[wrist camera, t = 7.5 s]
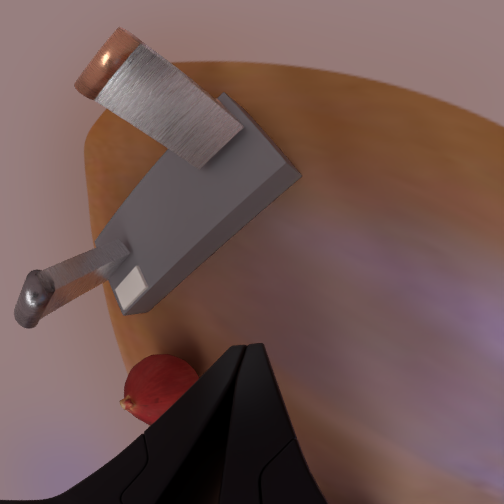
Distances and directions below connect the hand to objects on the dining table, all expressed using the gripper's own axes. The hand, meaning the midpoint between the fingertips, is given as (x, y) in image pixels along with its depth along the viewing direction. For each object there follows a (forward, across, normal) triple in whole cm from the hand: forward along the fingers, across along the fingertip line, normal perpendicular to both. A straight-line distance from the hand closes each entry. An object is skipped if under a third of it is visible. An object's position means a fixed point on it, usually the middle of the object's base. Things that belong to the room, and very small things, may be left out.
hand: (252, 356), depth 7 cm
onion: (+11, +9, +12) cm, 19 cm away
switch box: (+17, +7, 0) cm, 19 cm away
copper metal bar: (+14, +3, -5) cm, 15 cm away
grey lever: (+14, +14, +1) cm, 20 cm away
